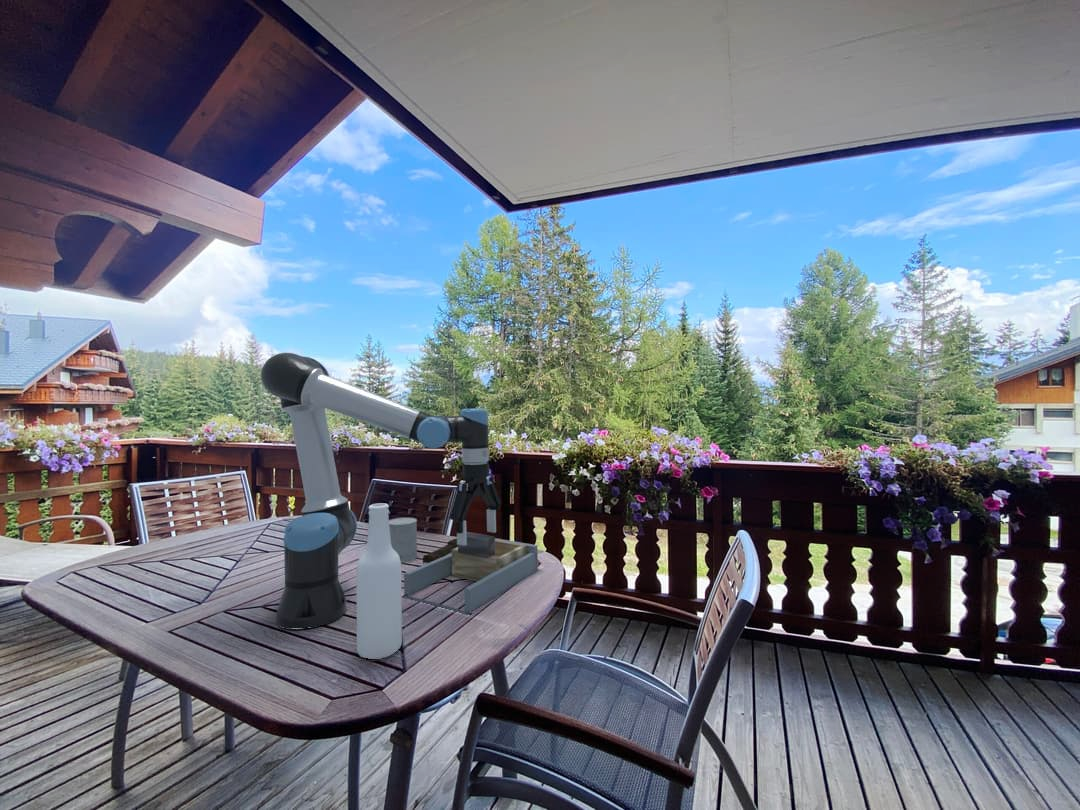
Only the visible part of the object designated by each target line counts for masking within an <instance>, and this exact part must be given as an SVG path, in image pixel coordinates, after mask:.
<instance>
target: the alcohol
mask: <svg viewBox="0 0 1080 810" xmlns="http://www.w3.org/2000/svg"><path fill="white" fill-rule="evenodd" d="M389 507H390V506H389V504H388V503H383V502H382V503H381V502H379V503H373V504H370V505H369V506H368V526H367V527H368V529H367V541H366V543H367V544H366V548H365V551H364V552H363V554H362V555H361V556H360V558H359V559H358V561H357V564H356V569H355V571H356V572H355V573H356V575H355V576H356V578H355V580H356V582H355V583H356V584H355V585H356V587H355V588H356V590H355V591H356V594H355V595H356V652H357V654H358V655H359V657H361V658H362V657H363V658H368V659H378V658H383V657H387V656H389V655H392V654H393V653H395V652H396V651H397V652H398V651H399V650H398V649H400V648H401V646H402V643H403V624H402V623H403V621H402V620H403V614H402V612H403V610H402V609H403V608H402V607H403V604H402V600H403V595H402V594H403V593H402V563H401V561H400V557H399V555H398V554H397V552H396V551H395V550H394V549H393V548H392V545H391V539H390V528H389V520H390V519H389V513H390V510H389ZM397 652H396V653H397ZM396 653H395V654H396ZM392 656H393V655H392ZM363 658H362V659H363Z"/></svg>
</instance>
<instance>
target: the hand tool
mask: <svg viewBox="0 0 1080 810" xmlns="http://www.w3.org/2000/svg"><path fill="white" fill-rule="evenodd" d="M457 547H458V544H457V537H456V538H453V539H451V540H450V539H449V541H448V542H447V544H446V545H444V546H442V547H440V548H438V549H436V550H434V551H432V552H430V553H428V554H423V557H422V564H427V563H430V562H432V561H434V560H437V559H439V558H442V557H444V556H446V555H449V554H451V553H452V549H455V548H457Z"/></svg>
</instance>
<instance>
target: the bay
mask: <svg viewBox="0 0 1080 810" xmlns="http://www.w3.org/2000/svg"><path fill="white" fill-rule="evenodd" d="M495 540H499V541H505V542H511V543H517V544H523V545H527V555H525V556H523V557H521V558H519V559H518V560H516V561H514V562H512V563H510V564H508V565H507V566H505V567H503V568H501V569H499V570H497V571H496V572H494V573H492V574H490V575H488V576H486V577H485V578H483V579H481V580H479V581H476V582H473V583H472V584H470V585H468V586H466V587H465V588H464V603H465V604H464V610H461V609H457V608H454V607H451V606H447V605H443V604H440V603H437V602H432V601H429V600H425V599H421V598H419V597H418V598H417V597H414V596H411V595H412V594H414V593H415V592H417V591H420V590H422V589H424V588H426V587H428V586H430V585H432V584H435V583H436V582H438V581H440V580H443V579H445V578H446V577H448V576H450V575H452V552H451V553H449V554H448V555H446V556H444V557H442V558H439V559H437V560H434V561H432V562H430V563H424V564H422V565H421V566H418V567H416V568H414V569H411V570H409V571H407V572H404V573H403V574H404V575H403V590H404V591H403V594H404V597H403V598H404V599H406V600H409V599H410V600H409V601H413V600H415V601H414V602H416V601H418V602H417V603H420V602H422V603H421V604H424V603H426V604H425V605H427V604H430V605H429V606H431V605H433V606H432V607H434V606H438V607H441V608H445V609H449V610H453V611H455V612H454V613H456V612H459V613H462V614H461V615H463V614H466V615H470V616H471V615H472V614H474V613H472V611H474V610H476V609H477V608H479V607H481V606H482V605H484V604H486V602H489V601H490V600H492V599H494V598H495V597H496V596H499V595H500V594H501V593H503V592H505V591H506V590H507V589H509V588H511V587H512V586H514V585H516V584H518V583H519V582H521V581H522V580H524V579H525V578H527V577H528V576H530V575H532V574H534V573H535V572H536V571H538V569H539V568H538V563H539V561H538V560H539V559H538V558H539V556H538V545H537V544H531V543H525V542H519V541H514V540H507V539H504V538H503V539H501V538H496V537H495ZM438 607H437V608H438ZM441 608H440V609H441ZM445 609H444V610H445ZM449 610H448V611H449ZM459 613H458V614H459ZM466 615H465V616H466ZM470 616H469V617H470ZM472 616H473V615H472ZM472 616H471V617H472Z"/></svg>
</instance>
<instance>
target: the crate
mask: <svg viewBox="0 0 1080 810" xmlns="http://www.w3.org/2000/svg"><path fill="white" fill-rule="evenodd" d="M466 536H467V545H459V544H458V547H457V548H455V549H452V552H451V553H452V574H451V575H452V576H453V577H458V578H460V579H461V578H462V579H466V580H470V581H476V582H477V581H479V580H481V579H483V578H485V577H486V576H488V575H490V574H492V573H494V572H496V571H497V570H499V569H501V568H503V567H505V566H507V565H508V564H510V563H512V562H514V561H516V560H518V559H519V558H521V557H523V556H525V555H527V545H523V544H517V543H511V542H505V541H499V540H495V538H496V536H493V535H489V534H482V533H478V532H477V533H476V532H470V531H466Z"/></svg>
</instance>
